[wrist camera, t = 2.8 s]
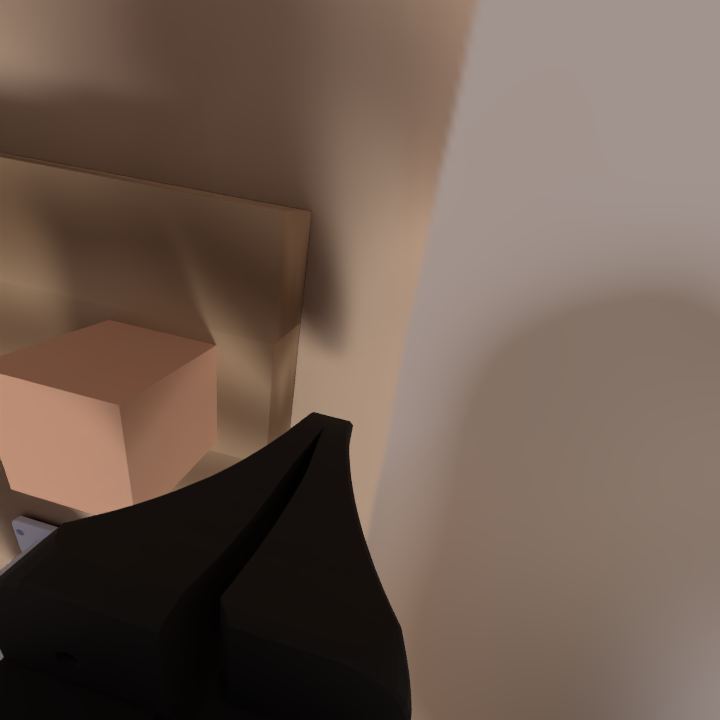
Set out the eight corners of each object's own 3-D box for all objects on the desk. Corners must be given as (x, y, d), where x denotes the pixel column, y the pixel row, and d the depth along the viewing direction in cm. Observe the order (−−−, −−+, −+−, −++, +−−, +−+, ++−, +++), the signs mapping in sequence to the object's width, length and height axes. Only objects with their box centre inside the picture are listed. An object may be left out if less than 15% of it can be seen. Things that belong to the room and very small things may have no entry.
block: (217, 441, 13) (136, 527, 10) (122, 416, 14) (11, 489, 10) (216, 345, 12) (119, 405, 8) (109, 319, 12) (-30, 365, 8)
